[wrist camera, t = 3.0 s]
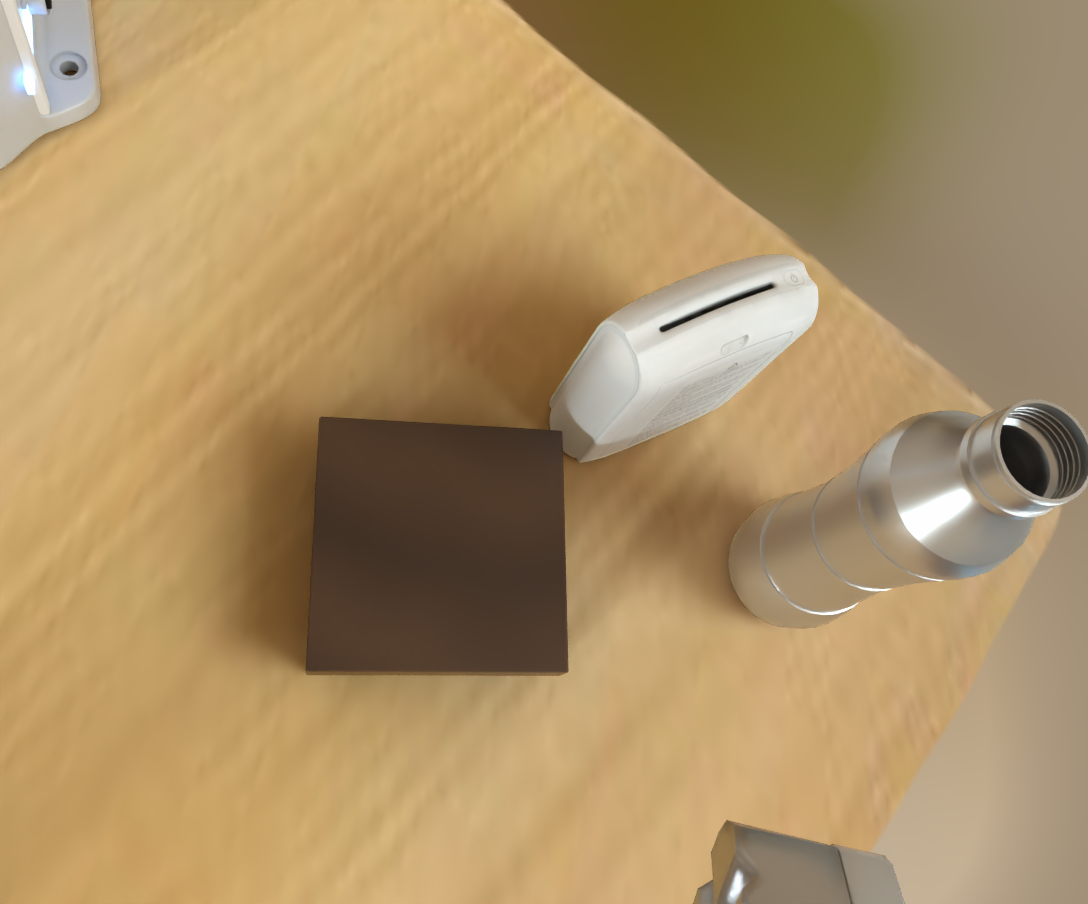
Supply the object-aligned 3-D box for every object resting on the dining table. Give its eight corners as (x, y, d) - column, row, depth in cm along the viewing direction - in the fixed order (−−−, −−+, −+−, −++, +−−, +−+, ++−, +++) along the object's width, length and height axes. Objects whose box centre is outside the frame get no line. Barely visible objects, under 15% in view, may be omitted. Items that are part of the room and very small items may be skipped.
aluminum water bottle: (689, 550, 50) (914, 415, 32) (788, 486, 53) (1050, 325, 34) (763, 661, 49) (1037, 589, 31) (860, 590, 52) (1169, 484, 33)
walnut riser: (318, 444, 48) (319, 415, 44) (543, 456, 50) (562, 430, 47) (305, 680, 44) (305, 671, 41) (548, 681, 47) (568, 672, 43)
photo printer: (699, 336, 54) (805, 217, 43) (737, 405, 54) (855, 303, 42) (532, 402, 51) (599, 292, 40) (570, 477, 50) (649, 387, 39)
